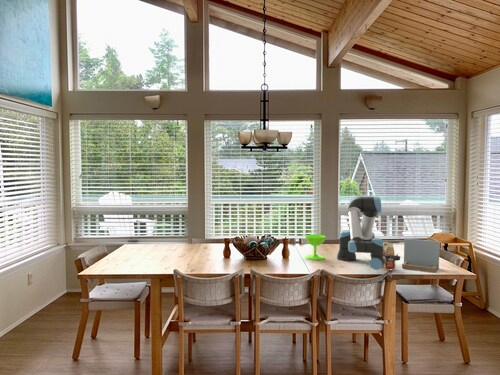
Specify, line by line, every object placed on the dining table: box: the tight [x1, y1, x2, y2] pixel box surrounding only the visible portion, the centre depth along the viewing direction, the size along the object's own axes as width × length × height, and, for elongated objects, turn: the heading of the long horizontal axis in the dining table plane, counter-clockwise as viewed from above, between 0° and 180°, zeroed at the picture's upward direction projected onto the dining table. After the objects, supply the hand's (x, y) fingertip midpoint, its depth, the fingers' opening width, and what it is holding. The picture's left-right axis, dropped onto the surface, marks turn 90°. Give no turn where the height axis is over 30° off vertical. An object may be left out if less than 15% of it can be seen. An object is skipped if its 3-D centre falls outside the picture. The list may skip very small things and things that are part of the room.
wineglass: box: [304, 234, 326, 261], centre depth 317 cm, size 16×16×18 cm
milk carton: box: [380, 241, 396, 271], centre depth 283 cm, size 9×9×20 cm
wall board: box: [401, 238, 441, 273], centre depth 284 cm, size 24×15×20 cm, turn 59°
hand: (387, 254), depth 280 cm, fingers open, 13 cm apart
